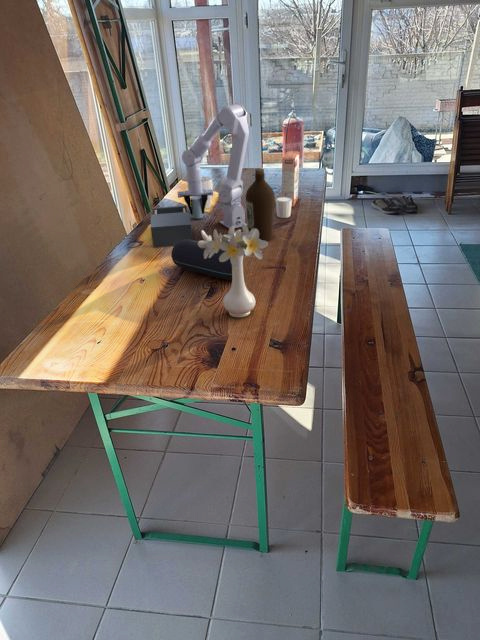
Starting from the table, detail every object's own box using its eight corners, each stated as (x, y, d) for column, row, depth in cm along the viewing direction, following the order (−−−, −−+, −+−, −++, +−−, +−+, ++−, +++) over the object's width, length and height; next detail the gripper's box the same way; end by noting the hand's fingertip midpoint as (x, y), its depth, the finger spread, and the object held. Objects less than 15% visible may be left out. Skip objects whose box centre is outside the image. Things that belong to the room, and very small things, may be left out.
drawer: (154, 220, 204) (152, 206, 201) (187, 218, 206) (186, 204, 203) (154, 233, 192) (152, 218, 189) (189, 230, 194) (188, 216, 191)
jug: (191, 214, 211) (190, 195, 207) (202, 214, 212) (200, 195, 207) (192, 219, 206) (190, 200, 202) (203, 218, 207) (201, 199, 202)
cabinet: (153, 233, 194) (150, 214, 190) (190, 230, 196) (189, 211, 192) (153, 247, 182) (150, 227, 178) (193, 244, 184) (191, 224, 180)
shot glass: (292, 213, 212) (292, 196, 208) (291, 218, 207) (291, 201, 203) (276, 212, 213) (276, 196, 209) (274, 218, 207) (274, 201, 203)
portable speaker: (249, 275, 161) (249, 246, 155) (233, 287, 154) (231, 257, 148) (188, 260, 172) (185, 233, 166) (170, 271, 165) (166, 242, 159)
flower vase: (211, 300, 147) (204, 217, 133) (272, 304, 144) (272, 220, 131) (199, 322, 137) (190, 235, 123) (265, 327, 134) (263, 238, 120)
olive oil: (269, 230, 195) (269, 164, 181) (278, 240, 186) (278, 171, 173) (243, 234, 192) (241, 167, 178) (251, 243, 184) (249, 174, 170)
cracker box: (294, 208, 218) (295, 158, 206) (280, 207, 219) (281, 157, 207) (298, 198, 229) (300, 151, 218) (286, 197, 230) (286, 150, 219)
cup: (213, 209, 218) (211, 181, 211) (192, 209, 218) (189, 182, 211) (215, 203, 225) (213, 176, 219) (195, 203, 225) (192, 176, 219)
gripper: (211, 176, 205) (213, 209, 212) (175, 178, 203) (179, 211, 210) (212, 181, 199) (215, 214, 206) (176, 183, 197) (180, 217, 204)
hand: (197, 213), depth 208 cm, fingers closed on jug, 4 cm apart
